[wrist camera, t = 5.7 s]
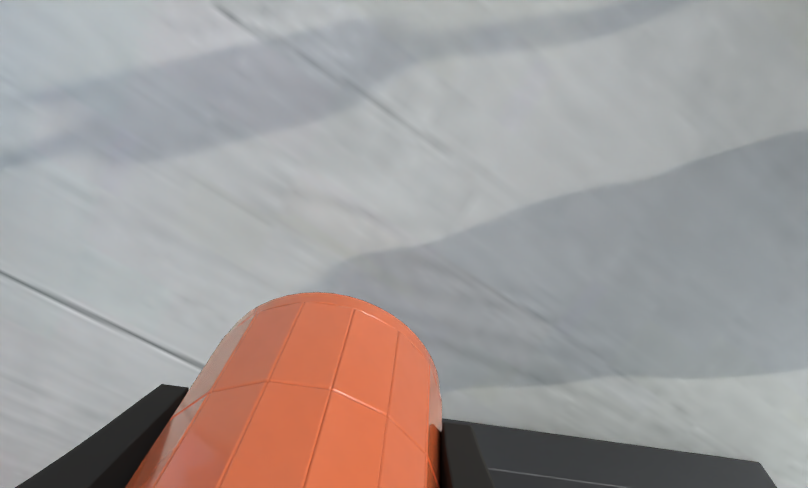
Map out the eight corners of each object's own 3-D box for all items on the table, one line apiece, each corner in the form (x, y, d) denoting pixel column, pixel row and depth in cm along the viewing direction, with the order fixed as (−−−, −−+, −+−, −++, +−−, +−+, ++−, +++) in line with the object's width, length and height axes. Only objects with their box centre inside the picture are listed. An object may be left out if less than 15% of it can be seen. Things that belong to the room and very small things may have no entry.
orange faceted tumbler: (220, 456, 15) (89, 725, 9) (212, 276, 12) (29, 494, 7) (424, 484, 15) (415, 771, 9) (455, 308, 12) (468, 555, 7)
